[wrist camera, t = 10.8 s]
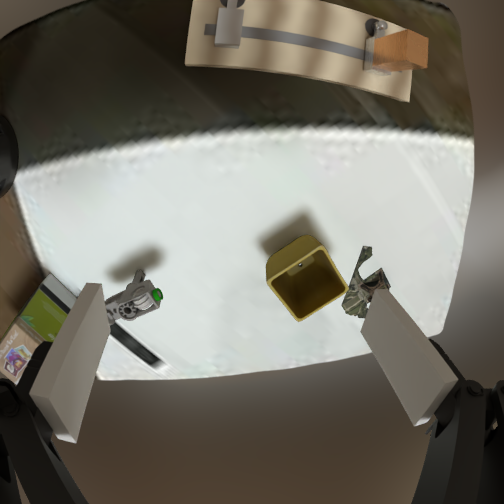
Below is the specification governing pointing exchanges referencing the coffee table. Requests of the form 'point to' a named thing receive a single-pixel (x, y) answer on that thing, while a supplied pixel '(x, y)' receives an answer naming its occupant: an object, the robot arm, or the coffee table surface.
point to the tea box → (34, 326)
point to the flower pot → (304, 277)
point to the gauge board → (291, 42)
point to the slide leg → (394, 51)
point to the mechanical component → (133, 300)
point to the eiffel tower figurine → (363, 287)
